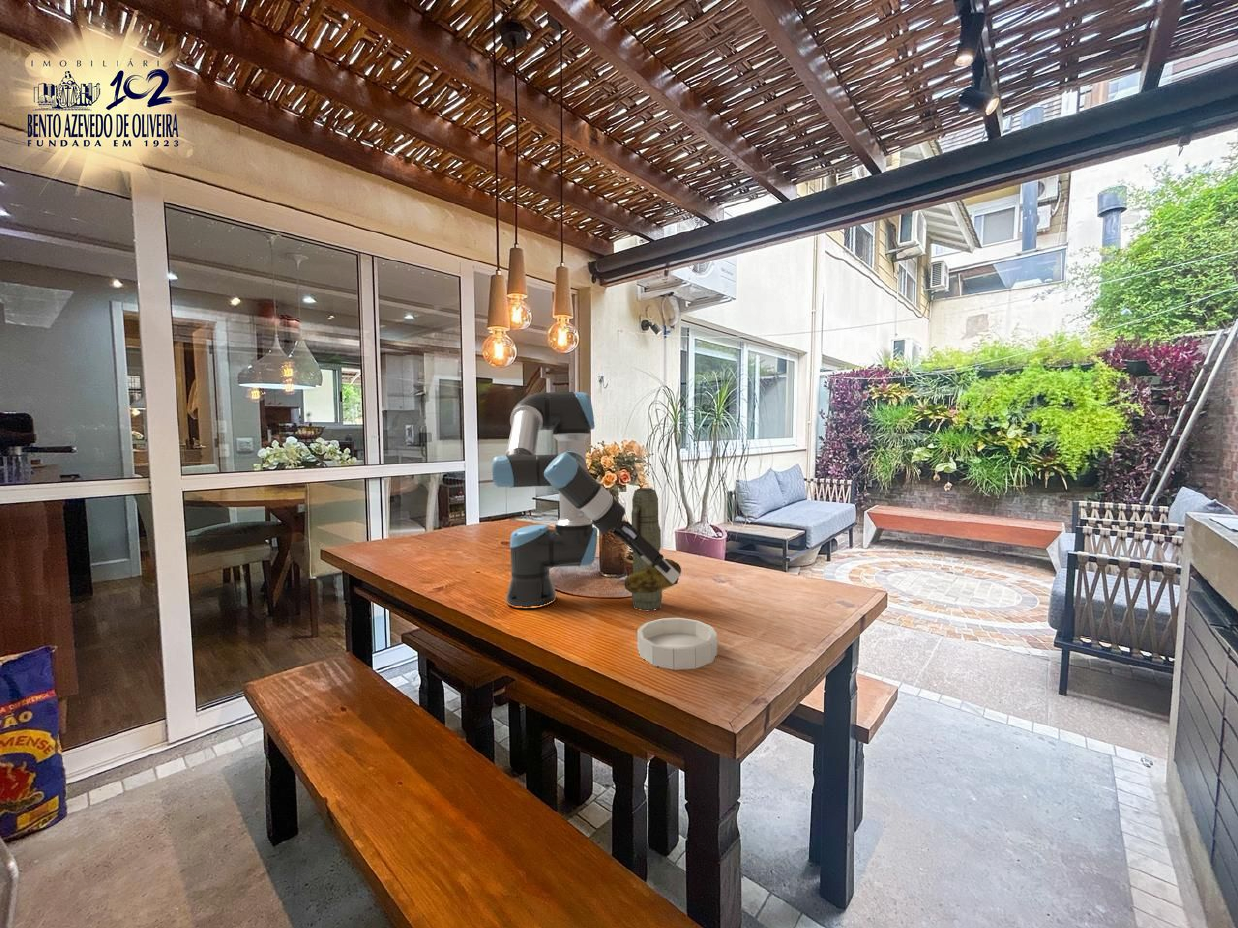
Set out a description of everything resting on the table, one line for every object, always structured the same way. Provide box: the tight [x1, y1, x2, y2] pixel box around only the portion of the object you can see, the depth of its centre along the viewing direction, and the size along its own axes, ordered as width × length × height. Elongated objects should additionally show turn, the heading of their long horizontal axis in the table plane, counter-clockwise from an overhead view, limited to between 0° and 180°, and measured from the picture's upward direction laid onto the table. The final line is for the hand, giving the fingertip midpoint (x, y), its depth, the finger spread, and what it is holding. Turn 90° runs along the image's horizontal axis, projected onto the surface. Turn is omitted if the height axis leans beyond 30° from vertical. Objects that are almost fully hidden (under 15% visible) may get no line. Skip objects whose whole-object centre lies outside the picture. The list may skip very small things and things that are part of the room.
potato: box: [624, 558, 682, 594], centre depth 115 cm, size 8×13×8 cm, turn 68°
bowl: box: [636, 617, 718, 671], centre depth 114 cm, size 18×18×4 cm
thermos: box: [631, 487, 663, 611], centre depth 144 cm, size 9×12×35 cm
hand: (669, 574), depth 115 cm, fingers closed on potato, 7 cm apart
